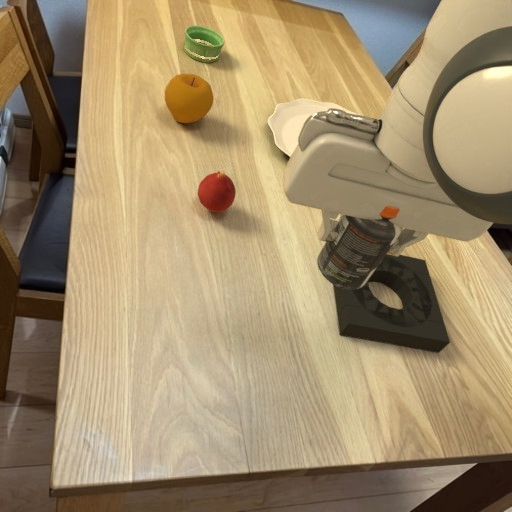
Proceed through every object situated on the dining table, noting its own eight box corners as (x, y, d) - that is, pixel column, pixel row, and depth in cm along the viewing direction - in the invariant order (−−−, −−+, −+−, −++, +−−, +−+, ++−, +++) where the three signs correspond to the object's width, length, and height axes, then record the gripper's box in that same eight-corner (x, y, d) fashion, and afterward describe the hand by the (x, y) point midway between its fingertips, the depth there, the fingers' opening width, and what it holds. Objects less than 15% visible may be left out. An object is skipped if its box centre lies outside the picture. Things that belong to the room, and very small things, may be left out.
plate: (285, 193, 87) (290, 183, 86) (252, 99, 105) (256, 89, 104) (420, 204, 98) (427, 195, 96) (369, 117, 116) (374, 108, 114)
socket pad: (439, 352, 73) (450, 342, 71) (339, 335, 70) (348, 323, 67) (416, 271, 84) (425, 259, 82) (329, 252, 80) (336, 240, 78)
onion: (223, 197, 82) (235, 159, 76) (233, 222, 79) (246, 184, 73) (190, 197, 79) (200, 158, 74) (198, 223, 76) (209, 184, 70)
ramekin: (224, 53, 116) (229, 35, 112) (214, 69, 109) (218, 50, 106) (188, 39, 115) (192, 20, 112) (176, 54, 109) (179, 35, 106)
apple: (185, 140, 89) (194, 97, 83) (149, 114, 91) (156, 70, 85) (216, 125, 95) (227, 84, 89) (182, 101, 97) (191, 59, 91)
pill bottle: (376, 281, 54) (431, 207, 46) (339, 298, 51) (391, 222, 43) (342, 243, 57) (388, 167, 49) (305, 257, 53) (348, 178, 45)
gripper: (316, 125, 37) (262, 247, 46) (544, 184, 41) (451, 285, 51) (309, 83, 41) (261, 203, 51) (517, 141, 45) (436, 241, 55)
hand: (358, 244), depth 51 cm, fingers closed on pill bottle, 6 cm apart
